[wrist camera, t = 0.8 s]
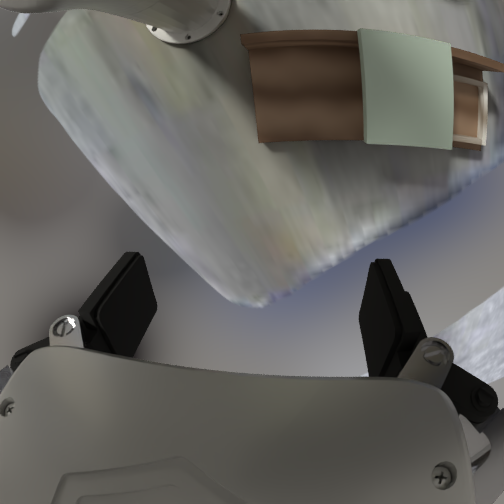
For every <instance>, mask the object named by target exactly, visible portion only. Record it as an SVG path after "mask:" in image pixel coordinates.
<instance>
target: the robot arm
mask: <svg viewBox="0 0 504 504" xmlns="http://www.w3.org/2000/svg"><path fill="white" fill-rule="evenodd" d="M230 6H231V0H0V7H1V8H3V9H6V10H8V11H12V12H17V13H49V12H57V11H64V10H72V9H88V10H96V11H101V12H105V13H109V14H113V15H117V16H120V17H124V18H127V19H131V20H134V21H137V22H141V23H144V24H146V26H147V29H148V30H149V31H150V32H151V34H152V35H154V36H155V37H156V38H158V39H160V40H162V41H165V42H168V43H173V44H187V43H192V42H195V41H198V40H201V39H203V38H205V37H207V36H209V35H210V34H212V33H213V32H214V31H216V30H217V29H218V28H219V27H220V26H221V25H222V23H223V22H224V20H225V19H226V17H227V15H228V13H229V10H230ZM221 13H223V15H222V16H220V14H221ZM156 29H157V30H156ZM190 36H191V38H190V39H188V38H189V37H190ZM156 311H157V302H156V299H155V296H154V292H153V289H152V285H151V282H150V278H149V275H148V271H147V267H146V264H145V260H144V257H143V256H141V255H140V253H139V252H126V253H124V255H123V256H122V257H121V258H120V260H118V262H117V263H116V264H115V265H114V266H113V268H112V269H111V270H110V271H109V273H108V274H107V275H106V276H105V278H104V279H103V280H102V281H101V282H100V284H99V285H98V286H97V287H96V289H95V290H94V291H93V293H92V294H91V295H90V296H89V298H88V299H87V300H86V302H85V303H84V304H83V306H82V307H81V308H80V309H79V311H78V312H79V314H80V316H79V318H77V317H76V316H73V315H66V316H63V317H61V318H59V319H57V320H56V321H55V322H54V323H53V324H52V325H51V327H50V330H49V337H47V338H45V339H43V340H41V341H38V342H36V343H34V344H32V345H29V346H27V347H25V348H22V349H21V350H18V351H17V352H16V353H15V355H14V356H13V357H12V360H11V367H10V368H9V366H8V365H7V366H6V367H4V368H3V369H2V370H0V504H493V503H494V502H495V500H496V499H497V498H498V497H499V496H500V494H501V493H502V492H503V491H504V408H502V409H501V410H500V409H499V408H498V407H497V406H498V397H497V394H496V392H495V391H494V389H493V388H491V386H489V385H488V384H486V383H485V382H483V381H481V380H480V379H478V378H477V377H475V376H473V375H472V374H470V373H468V372H467V371H465V370H464V369H462V368H460V367H459V366H457V365H455V364H454V363H453V360H454V354H453V351H452V349H451V347H450V346H449V345H448V344H447V343H446V342H445V341H443V340H441V339H439V338H434V337H429V338H428V337H427V335H426V332H425V330H424V327H423V324H422V322H421V320H420V317H419V315H418V312H417V310H416V307H415V305H414V303H413V301H412V298H411V296H410V294H409V292H407V291H404V289H403V286H402V284H401V282H400V280H399V277H398V275H397V273H396V271H395V269H394V266H393V264H392V262H391V260H390V259H376V260H375V262H371V264H370V268H369V272H368V277H367V282H366V286H365V291H364V296H363V299H362V304H361V308H360V312H359V324H360V329H361V334H362V339H363V344H364V350H365V355H366V361H367V367H368V373H369V377H308V376H279V375H262V374H248V373H235V372H226V371H216V370H207V369H199V368H192V367H184V366H177V365H170V364H164V363H158V362H152V361H146V360H140V359H136V358H133V356H134V354H135V352H136V350H137V348H138V346H139V344H140V342H141V340H142V338H143V336H144V334H145V332H146V330H147V328H148V326H149V324H150V322H151V320H152V319H153V317H154V315H155V313H156Z"/></svg>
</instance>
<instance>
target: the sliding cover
mask: <svg viewBox="0 0 504 504" xmlns="http://www.w3.org/2000/svg"><path fill="white" fill-rule="evenodd" d="M357 34H358V43H359V53H360V64H361V77H362V94H363V121H364V142H365V143H366V144H383V145H402V146H416V147H428V148H438V149H448V150H452V141H453V119H454V88H453V67H452V54H451V44H449V43H445V42H441V41H437V40H433V39H428V38H424V37H419V36H413V35H408V34H402V33H396V32H389V31H381V30H372V29H361V28H360V29H359V30H357Z"/></svg>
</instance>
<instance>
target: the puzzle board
mask: <svg viewBox="0 0 504 504" xmlns="http://www.w3.org/2000/svg"><path fill="white" fill-rule="evenodd" d="M240 36H241V44H242V45H243V46H244V47H245V48H246V49H248V51H249V60H250V68H251V77H252V86H253V95H254V104H255V113H256V122H257V132H258V142H259V143H264V142H281V141H305V140H364V124H363V97H362V80H361V64H360V53H359V43H358V34H357V31H345V30H285V31H269V32H258V33H249V34H240ZM451 54H452V67H453V88H454V119H453V141H452V147H458V148H465V149H472V150H479V151H481V145H485V146H486V134H487V112H488V89H487V83H484V82H483V76H482V71H494V72H504V64H502V63H500V62H497V61H494V60H492V59H489V58H486V57H483V56H480V55H477V54H474V53H471V52H467V51H464V50H461V49H457V48H453V47H451Z"/></svg>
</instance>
